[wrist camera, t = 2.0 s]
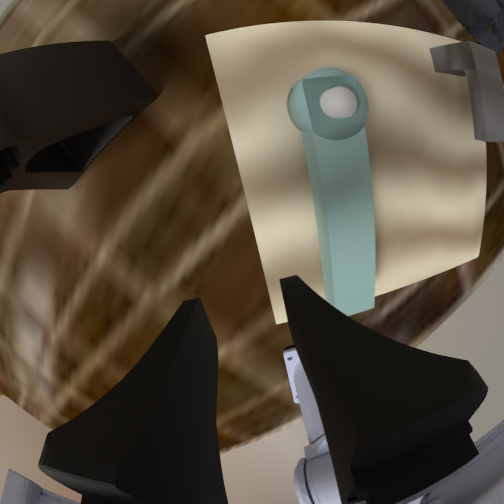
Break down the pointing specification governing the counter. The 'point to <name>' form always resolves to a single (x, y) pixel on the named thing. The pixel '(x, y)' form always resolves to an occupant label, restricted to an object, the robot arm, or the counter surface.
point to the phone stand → (63, 110)
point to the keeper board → (378, 140)
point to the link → (339, 182)
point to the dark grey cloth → (481, 20)
